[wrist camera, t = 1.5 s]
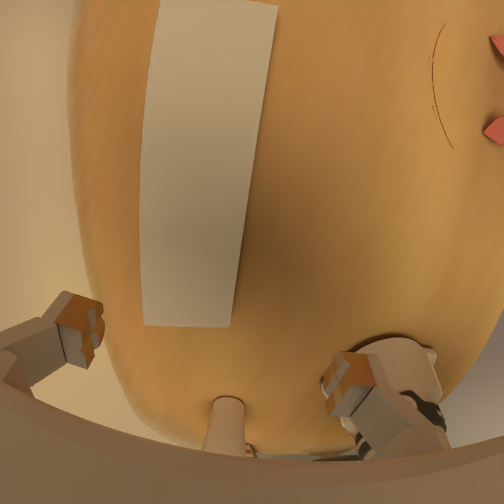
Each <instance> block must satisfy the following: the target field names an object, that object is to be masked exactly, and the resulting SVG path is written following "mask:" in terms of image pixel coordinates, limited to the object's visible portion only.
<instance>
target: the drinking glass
mask: <svg viewBox="0 0 504 504" xmlns="http://www.w3.org/2000/svg"><path fill="white" fill-rule="evenodd" d="M244 409H245V408H244V404H243V403H242V402H241V401H240V400H238V399H236V398H232V397H221V398H218V399H216V400H215V401H214V402H213V405H212V412H211V416H210V420H209V425H208V429H207V433H206V437H205V440H204V444H203V448H202V451H205V452H211V453H218V454H224V455H232V456H239V457H246V444H245V424H244Z"/></svg>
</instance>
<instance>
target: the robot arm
mask: <svg viewBox="0 0 504 504" xmlns="http://www.w3.org/2000/svg"><path fill="white" fill-rule="evenodd" d="M103 312H104V309H103V304H102V303H101V302H99V301H96V300H92V299H89V298H86V297H83V296H80V295H77V294H73V293H70V292H67V291H63V292H61V293H60V294H59V296H58V297H57V298H56V299H55V301H54V302H53V303H52V304H51V305H50V307H49V308H48V309H47V310H46V312H45V313H44V314H43V316H42V317H41V318H39V317H35V318H33V319H30V320H28V321H26V322H23V323H21V324H18V325H16V326H13V327H11V328H8V329H6V330H3V331H1V332H0V504H504V436H500V437H497V438H493V439H489V440H486V441H482V442H479V443H475V444H471V445H466V446H462V447H458V448H453V449H451V447H450V444H449V442H448V439H447V436H446V434H445V432H446V424H445V419H444V416H443V414H442V413H441V411H440V408H439V406H438V403H439V402H440V400H441V397H442V395H443V392H442V389H441V386H440V383H439V380H438V378H437V375H436V373H435V370H434V368H433V366H434V364H435V361H436V359H437V354H436V352H435V350H433V349H428V348H423V347H421V346H420V345H419V344H418V343H417V342H415V341H413V340H411V339H407V338H388V339H384V340H380V341H377V342H374V343H371V344H369V345H367V346H365V347H363V348H361V349H359V350H358V351H356V352H355V353H354V352H345V351H338V352H337V353H336V355H335V356H334V358H333V359H334V364H332V365H330V366H329V367H328V368H327V370H326V372H325V375H324V379H323V383H322V384H321V386H320V387H321V390H322V393H323V394H324V396H325V397H326V399H327V400H326V405H327V411H328V416H336V417H339V418H340V419H341V424H342V427H345V428H346V430H347V431H348V432H349V433H350V434H351V435H352V436H353V437H354V439H355V442H356V451H357V455H358V457H359V460H360V461H338V462H307V461H284V460H283V461H282V460H268V459H258V458H248V457H239V456H232V455H224V454H218V453H211V452H205V451H200V450H194V449H189V448H184V447H179V446H175V445H170V444H166V443H162V442H157V441H154V440H150V439H145V438H142V437H138V436H135V435H131V434H128V433H124V432H121V431H118V430H115V429H112V428H109V427H106V426H103V425H100V424H97V423H94V422H91V421H89V420H86V419H83V418H80V417H78V416H75V415H72V414H70V413H68V412H65V411H63V410H60V409H58V408H56V407H53V406H51V405H49V404H46V403H44V402H42V401H40V400H38V399H36V398H35V397H34V395H33V393H32V391H31V389H30V387H31V386H33V385H34V384H36V383H38V382H39V381H41V380H42V379H44V378H45V377H47V376H48V375H50V374H51V373H53V372H54V371H56V370H57V369H59V368H60V367H62V366H64V365H65V364H66V362H67V363H70V364H73V365H76V366H79V367H82V368H85V369H88V368H89V366H90V363H91V362H92V360H93V358H94V356H95V355H94V349H96V348H98V347H99V346H100V345H101V342H102V340H103V337H104V333H105V321H104V320H103V319H102V317H101V316H102V314H103Z"/></svg>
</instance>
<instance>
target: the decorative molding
mask: <svg viewBox="0 0 504 504" xmlns="http://www.w3.org/2000/svg"><path fill="white" fill-rule="evenodd" d="M278 7H279V6H276V5H271V4H266V3H260V2H255V1H249V0H161V2H160V7H159V12H158V17H157V22H156V28H155V33H154V39H153V45H152V52H151V59H150V66H149V73H148V81H147V89H146V98H145V108H144V119H143V132H142V147H141V165H140V198H139V239H140V271H141V291H142V306H143V318H144V325H147V326H172V327H230V321H231V314H232V306H233V299H234V292H235V285H236V278H237V271H238V264H239V257H240V250H241V243H242V236H243V229H244V222H245V216H246V209H247V202H248V195H249V189H250V182H251V175H252V169H253V162H254V156H255V149H256V143H257V136H258V130H259V123H260V117H261V111H262V104H263V98H264V92H265V85H266V79H267V73H268V67H269V61H270V55H271V48H272V42H273V36H274V30H275V24H276V18H277V12H278Z"/></svg>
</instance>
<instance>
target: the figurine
mask: <svg viewBox="0 0 504 504" xmlns="http://www.w3.org/2000/svg"><path fill="white" fill-rule="evenodd" d="M445 24H446V23H445ZM444 26H445V25H444ZM444 26H443V27H444ZM442 29H443V28H442ZM441 31H442V30H441ZM441 31H440V32H441ZM439 35H440V33H439ZM490 37H491V39H492V41H493V43H494V44H495V46H496V47H497V49H498V50H499V52H500V53H501V54H502V55H503V56H504V35H495V36H490ZM492 37H494V38H496V39H494V38H492ZM438 38H439V36H438ZM437 40H438V39H437ZM436 43H437V41H436ZM435 47H436V44H435ZM434 52H435V49H434ZM433 57H434V54H433ZM429 58H430V56H429ZM432 81H433V64H432ZM433 92H434V87H433ZM434 98H435V94H434ZM435 104H436V100H435ZM432 107H433V105H432ZM436 108H437V105H436ZM433 110H434V108H433ZM437 111H438V109H437ZM434 113H435V112H434ZM438 115H439V113H438ZM439 119H440V116H439ZM436 120H437V119H436ZM440 122H441V120H440ZM441 124H442V123H441ZM442 127H443V125H442ZM443 130H444V128H443ZM444 132H445V131H444ZM483 133H484V134H486V135H487V136H488V137H489V138H491V139H492V140H494V141H495V142H497V143H498V144H500V145H501V146H504V116H503V117H501V118H498V119H496V120H495V121H494V122H493V123H492V124H491V125H489V126H488V127H487V129H486V130H485V131H484V132H483ZM445 135H446V133H445ZM446 137H447V136H446ZM447 139H448V138H447ZM448 141H449V140H448ZM449 143H450V141H449ZM450 144H451V143H450ZM451 146H452V145H451ZM452 148H453V147H452Z"/></svg>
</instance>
